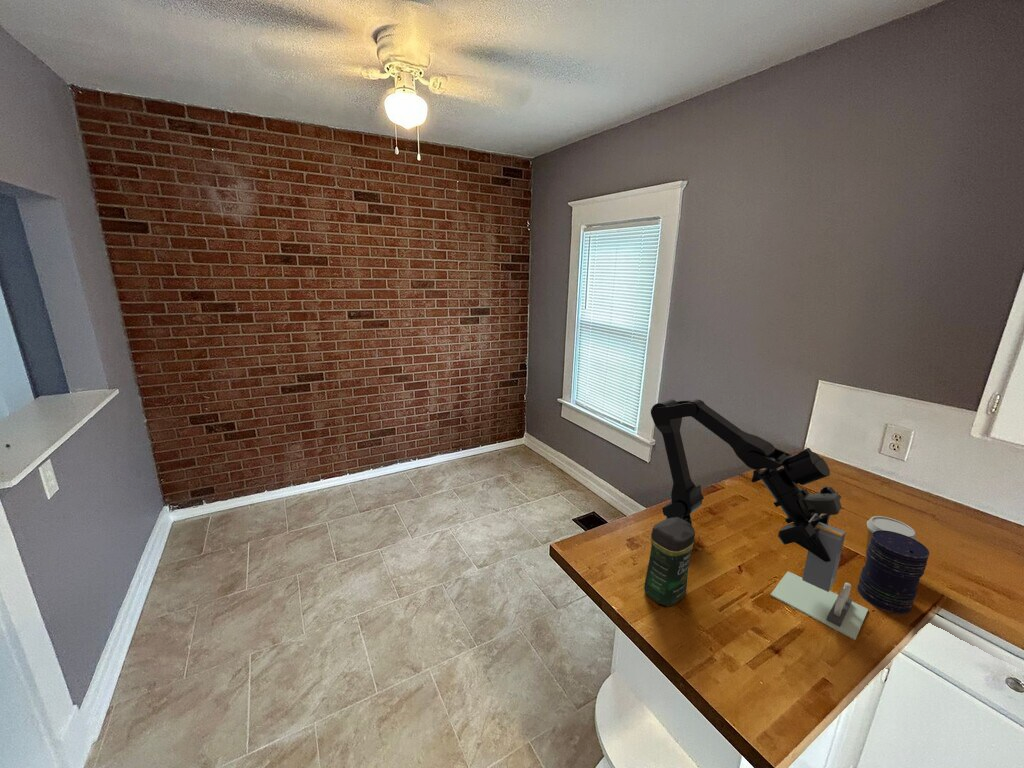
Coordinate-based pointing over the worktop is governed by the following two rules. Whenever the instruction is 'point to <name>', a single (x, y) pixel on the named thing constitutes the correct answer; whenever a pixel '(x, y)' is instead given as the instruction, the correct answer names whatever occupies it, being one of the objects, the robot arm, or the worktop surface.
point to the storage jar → (892, 571)
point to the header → (822, 604)
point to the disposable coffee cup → (887, 528)
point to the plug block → (820, 570)
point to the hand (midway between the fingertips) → (831, 556)
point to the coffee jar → (669, 560)
